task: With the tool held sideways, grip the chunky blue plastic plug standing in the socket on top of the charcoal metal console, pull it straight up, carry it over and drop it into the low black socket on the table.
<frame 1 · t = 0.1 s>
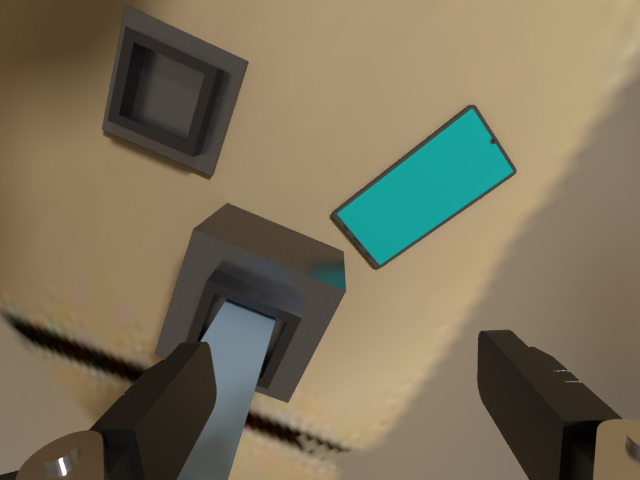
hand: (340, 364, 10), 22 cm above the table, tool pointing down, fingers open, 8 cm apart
plug: (245, 324, 27), point 8 cm above the table, touching upper jack
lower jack: (174, 97, 29), on the table
smartphone: (418, 192, 31), on the table
upper jack: (265, 279, 34), on the table
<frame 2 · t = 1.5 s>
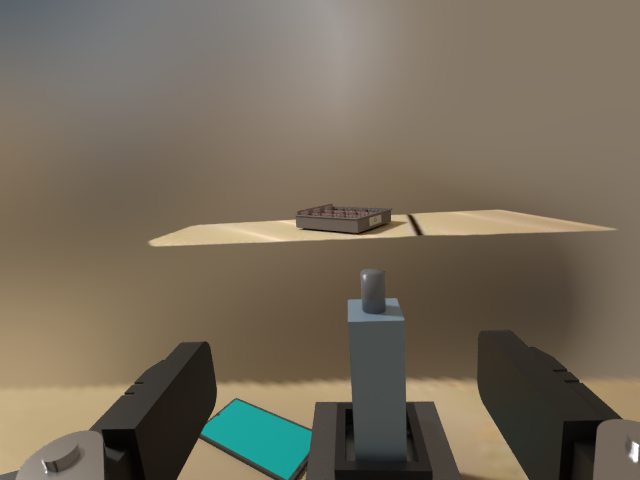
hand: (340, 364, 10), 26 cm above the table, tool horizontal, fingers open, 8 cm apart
plug: (379, 450, 29), point 8 cm above the table, touching upper jack
smartphone: (259, 440, 42), on the table
organizer tray: (343, 227, 175), on the table
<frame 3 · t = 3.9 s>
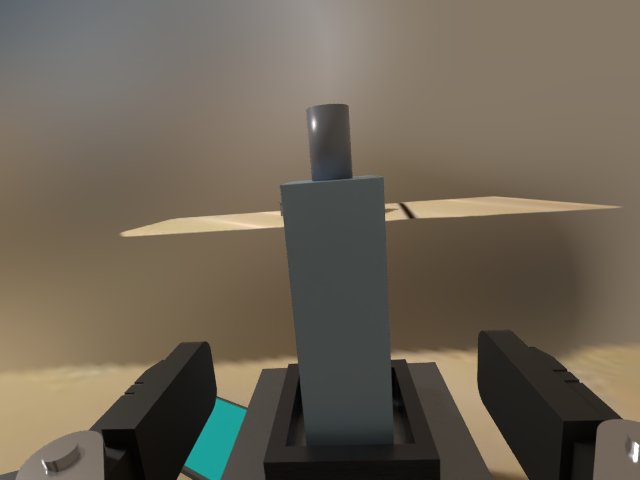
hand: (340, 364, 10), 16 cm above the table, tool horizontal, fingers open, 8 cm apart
plug: (349, 431, 18), point 8 cm above the table, touching upper jack
smartphone: (195, 432, 30), on the table
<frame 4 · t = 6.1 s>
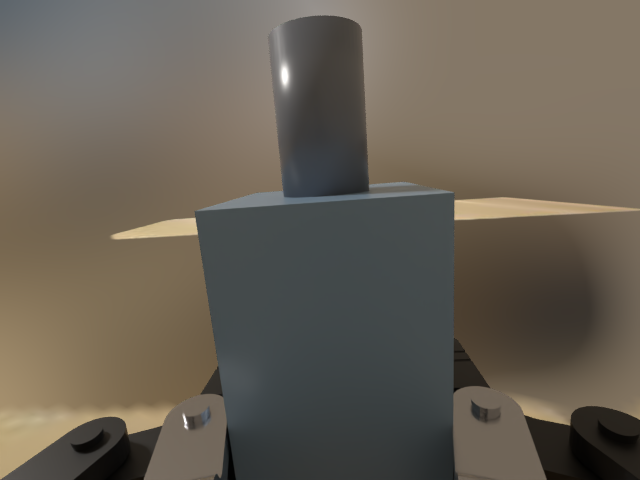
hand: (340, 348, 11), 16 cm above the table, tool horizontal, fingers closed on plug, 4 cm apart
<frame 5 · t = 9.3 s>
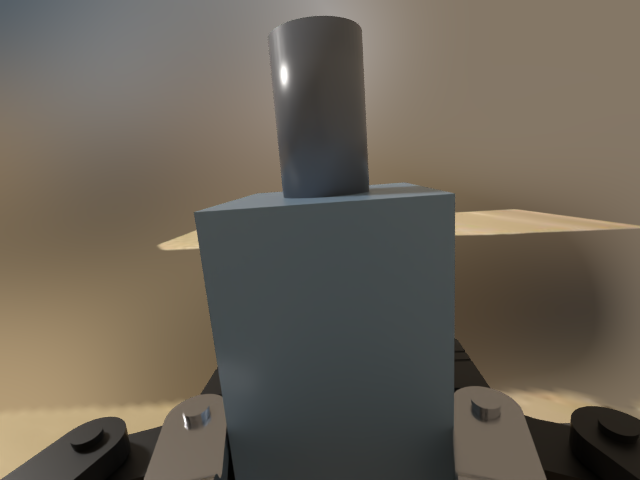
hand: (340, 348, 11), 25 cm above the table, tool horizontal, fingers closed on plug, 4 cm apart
when the fingers open (10 cm above the table, at t = 12.4 s): plug drops 1 cm, resting on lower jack.
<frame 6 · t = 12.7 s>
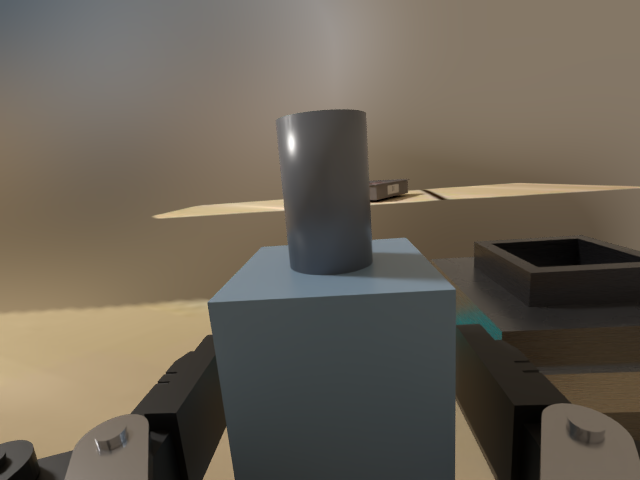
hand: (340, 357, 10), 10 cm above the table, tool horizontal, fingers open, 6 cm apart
organizer tray: (358, 199, 167), on the table
upper jack: (550, 396, 22), on the table
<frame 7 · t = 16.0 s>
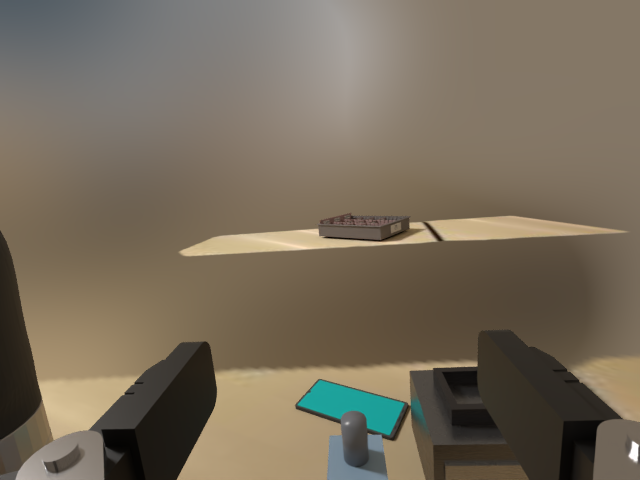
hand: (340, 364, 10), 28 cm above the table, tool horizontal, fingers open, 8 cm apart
smartphone: (351, 410, 49), on the table
organizer tray: (364, 235, 183), on the table
upper jack: (475, 463, 38), on the table
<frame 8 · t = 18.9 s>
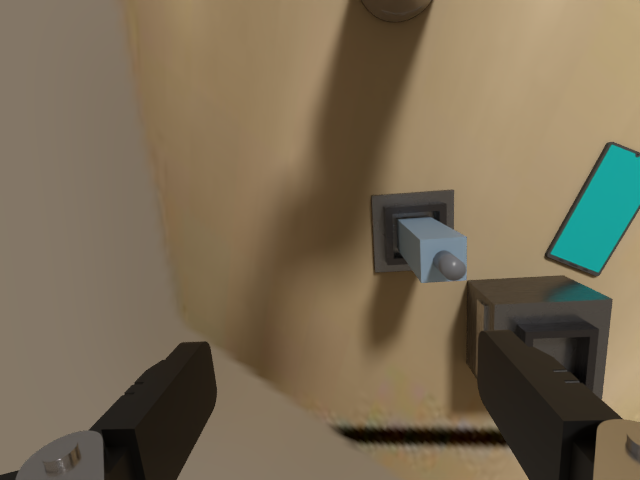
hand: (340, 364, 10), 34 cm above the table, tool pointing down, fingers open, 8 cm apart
plug: (412, 232, 43), point 1 cm above the table, touching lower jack
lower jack: (412, 231, 43), on the table
smartphone: (598, 210, 42), on the table
upper jack: (513, 320, 45), on the table
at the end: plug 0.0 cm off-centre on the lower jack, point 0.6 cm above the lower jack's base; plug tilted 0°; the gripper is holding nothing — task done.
